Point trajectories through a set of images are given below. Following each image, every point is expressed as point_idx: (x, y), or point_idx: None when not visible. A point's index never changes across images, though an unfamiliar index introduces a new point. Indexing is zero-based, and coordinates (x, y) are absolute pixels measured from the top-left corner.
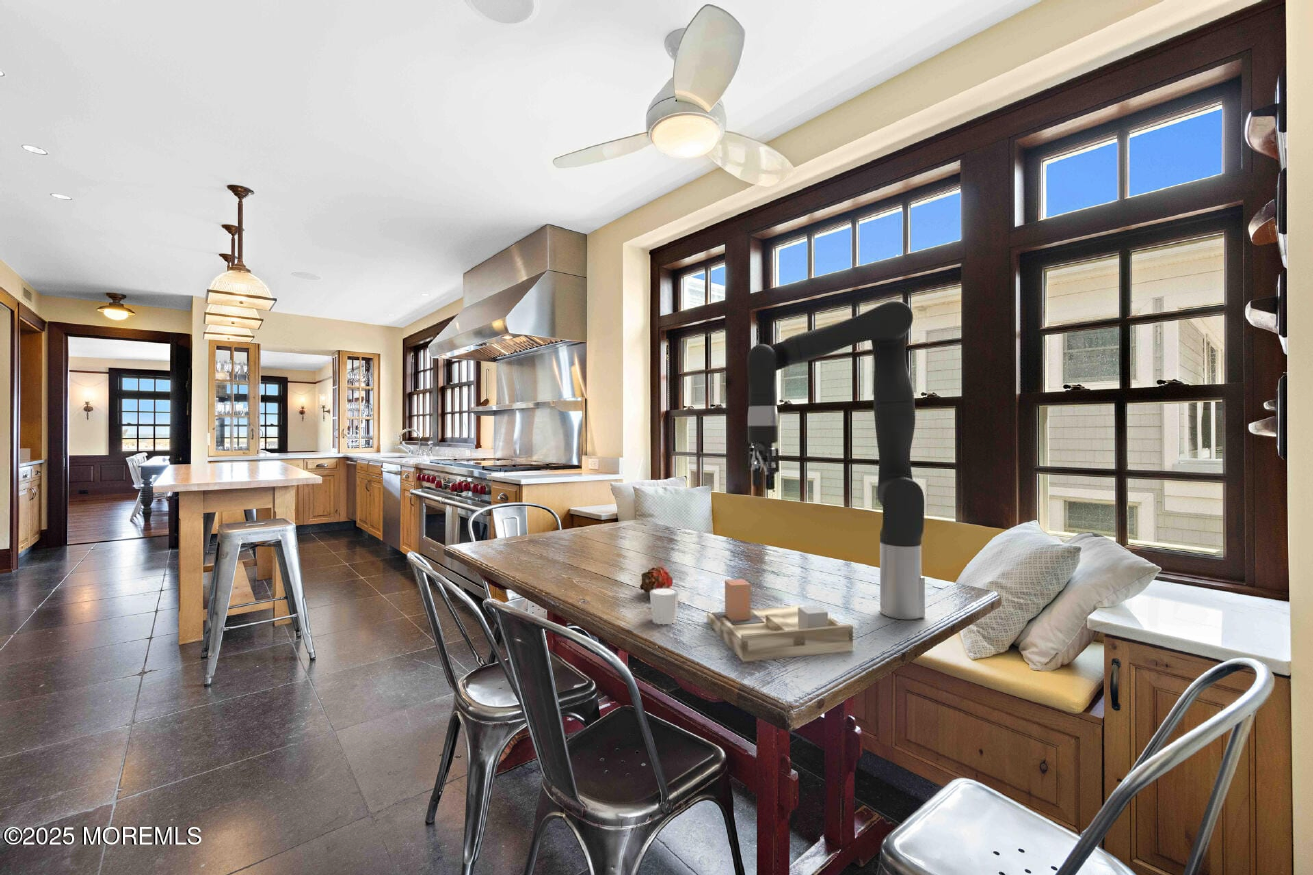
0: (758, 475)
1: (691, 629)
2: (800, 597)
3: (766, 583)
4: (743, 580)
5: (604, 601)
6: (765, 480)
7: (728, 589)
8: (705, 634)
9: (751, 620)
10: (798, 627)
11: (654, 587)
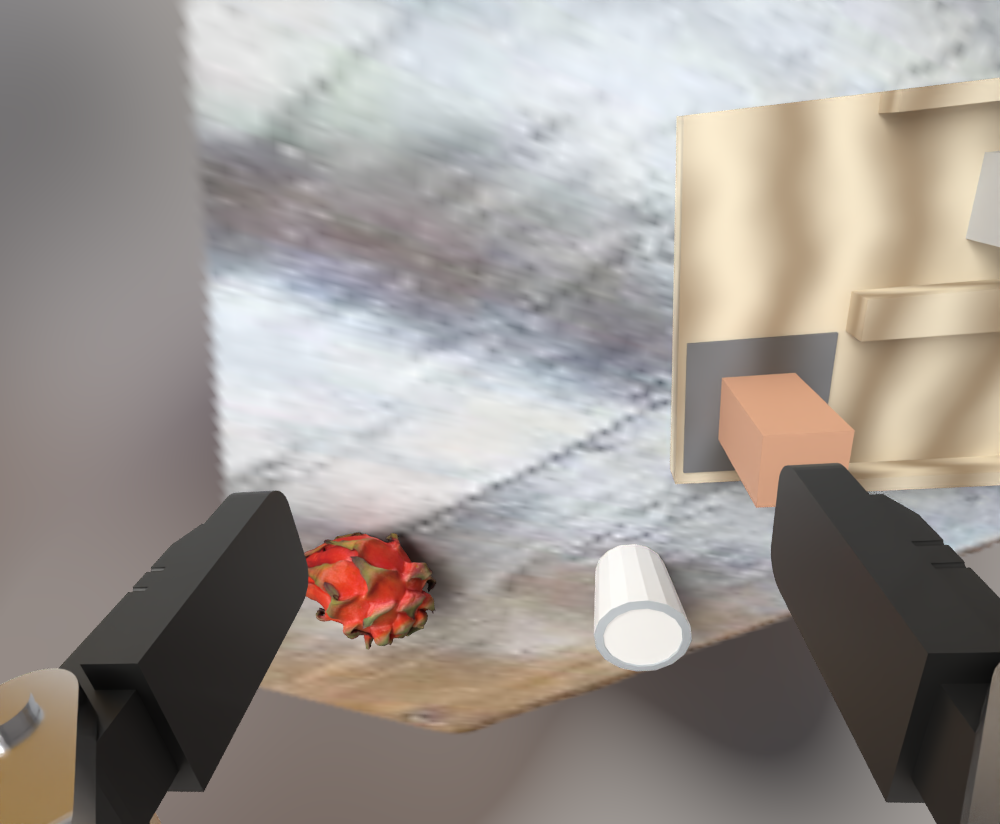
0: (203, 655)
1: (725, 521)
2: (445, 15)
3: (206, 116)
4: (786, 440)
5: (430, 678)
6: (842, 687)
7: None
8: None
9: (807, 373)
10: (976, 240)
11: (433, 600)
